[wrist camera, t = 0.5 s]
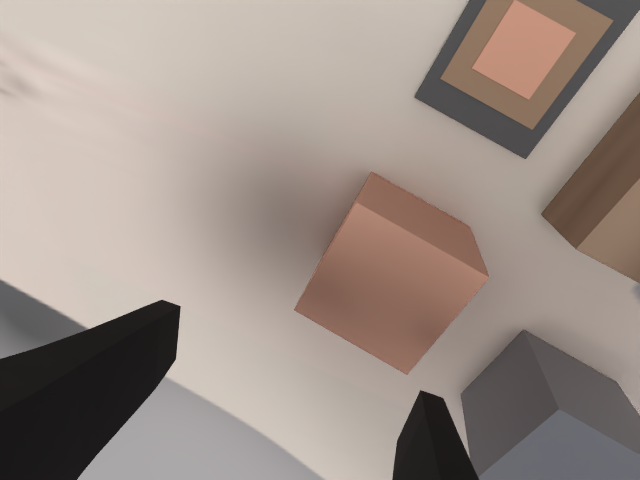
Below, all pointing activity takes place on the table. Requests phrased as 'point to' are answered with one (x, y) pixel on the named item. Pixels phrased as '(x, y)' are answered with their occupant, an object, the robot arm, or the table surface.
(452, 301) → the terracotta cube
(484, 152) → the table surface
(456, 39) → the card
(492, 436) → the charcoal cube
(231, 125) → the table surface
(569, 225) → the walnut block
